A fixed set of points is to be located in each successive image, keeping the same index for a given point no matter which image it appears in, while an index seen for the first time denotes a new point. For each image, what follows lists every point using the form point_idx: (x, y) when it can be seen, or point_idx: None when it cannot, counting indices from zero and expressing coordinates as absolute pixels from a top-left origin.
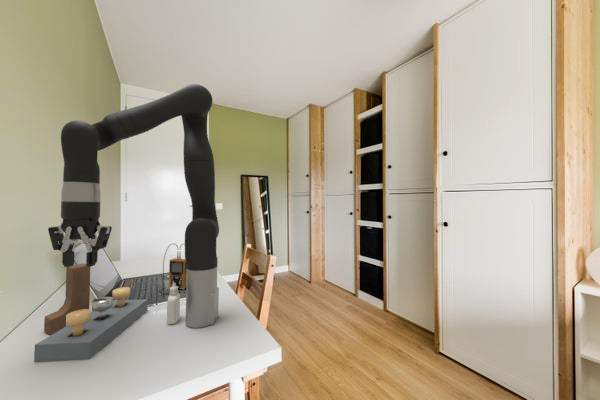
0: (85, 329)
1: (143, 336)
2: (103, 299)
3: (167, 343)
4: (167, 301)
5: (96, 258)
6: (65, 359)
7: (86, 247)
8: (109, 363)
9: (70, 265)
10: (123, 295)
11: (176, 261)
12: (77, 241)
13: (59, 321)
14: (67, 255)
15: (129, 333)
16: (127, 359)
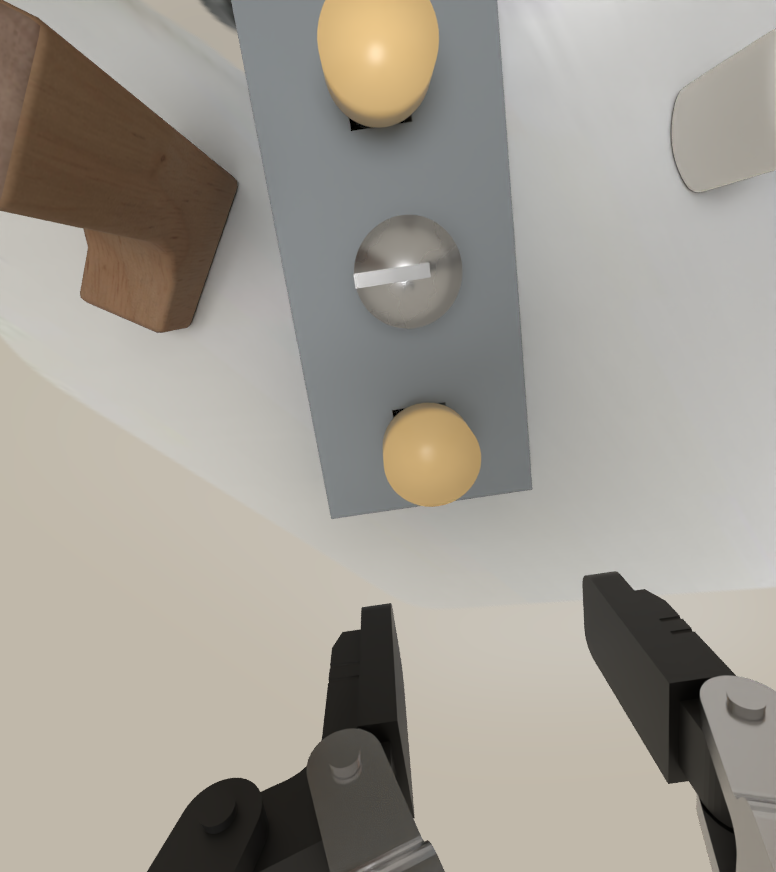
0: (425, 399)
1: (623, 308)
2: (419, 278)
3: (753, 354)
4: (768, 144)
5: (683, 634)
6: None
7: (719, 870)
8: (602, 482)
9: (397, 639)
10: (423, 95)
11: None
12: (437, 860)
13: (181, 300)
14: (410, 776)
15: (542, 286)
16: (651, 458)
